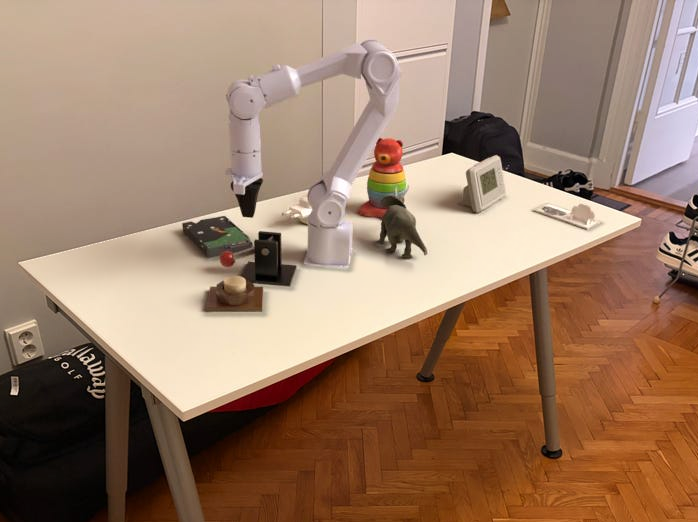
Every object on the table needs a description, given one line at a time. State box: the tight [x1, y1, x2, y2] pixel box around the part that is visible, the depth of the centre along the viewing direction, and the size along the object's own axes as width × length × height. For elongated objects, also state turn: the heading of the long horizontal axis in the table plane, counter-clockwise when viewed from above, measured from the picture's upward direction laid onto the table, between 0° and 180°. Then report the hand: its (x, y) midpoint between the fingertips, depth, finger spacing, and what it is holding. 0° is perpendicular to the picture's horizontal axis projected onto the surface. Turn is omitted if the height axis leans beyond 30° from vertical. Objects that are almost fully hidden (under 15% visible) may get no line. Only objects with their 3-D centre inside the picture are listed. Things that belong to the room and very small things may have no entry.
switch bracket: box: [240, 230, 297, 287], centre depth 142 cm, size 10×8×9 cm
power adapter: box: [281, 195, 312, 225], centre depth 166 cm, size 11×5×6 cm, turn 137°
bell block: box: [206, 280, 264, 313], centre depth 134 cm, size 10×8×4 cm
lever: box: [218, 236, 275, 268], centre depth 142 cm, size 12×3×3 cm, turn 85°
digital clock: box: [461, 154, 507, 213], centre depth 182 cm, size 16×9×11 cm, turn 134°
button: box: [223, 275, 246, 293], centre depth 133 cm, size 4×4×2 cm
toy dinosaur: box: [375, 184, 428, 259], centre depth 156 cm, size 22×8×11 cm, turn 12°
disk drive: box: [181, 215, 253, 259], centre depth 156 cm, size 10×3×15 cm
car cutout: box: [533, 202, 602, 231], centre depth 179 cm, size 15×7×4 cm, turn 47°
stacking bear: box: [357, 137, 407, 219], centre depth 171 cm, size 11×10×18 cm
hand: (248, 216), depth 144 cm, fingers closed
